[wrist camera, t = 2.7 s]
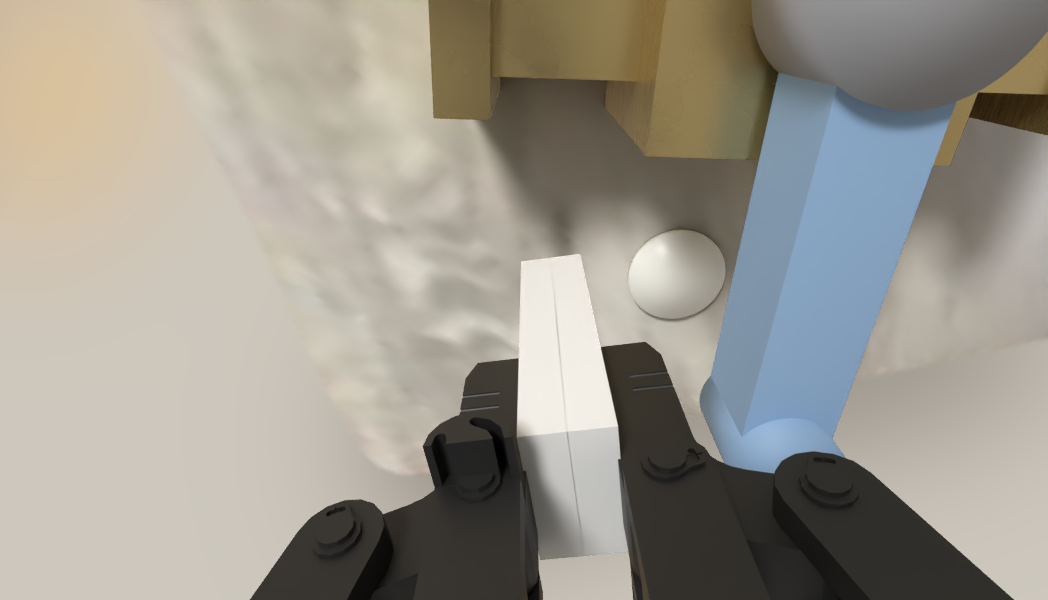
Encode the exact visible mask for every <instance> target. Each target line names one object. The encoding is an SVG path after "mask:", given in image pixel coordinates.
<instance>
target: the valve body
mask: <svg viewBox="0 0 1048 600" xmlns="http://www.w3.org/2000/svg"><path fill="white" fill-rule="evenodd" d="M429 22H430V45H431V68H432V91H433V114H434V118H442V119H473V120H490V118H491V115H492V112H493V110H494V107H495V104H496V101H497V99H498V96H499V93H500V90H501V77H519V78H550V79H581V80H607V86H606V97H605V108H606V109H607V110H608V111H609V113H610V114H611V115H612V116H613V117H614V119H615V120H616V121H617V122H618V123H619V125H620V126H621V127H622V128H623V129H624V131H625V132H626V133H627V134H628V136H629V137H630V138H631V139H632V140H633V142H634V143H635V144H636V145H637V146H638V148H639V149H640V150H641V151H642V152H643V154H644V155H645V156H646V157H675V158H707V159H739V160H759V158H760V154H761V149H762V145H763V140H764V136H765V131H766V127H767V122H768V118H769V113H770V109H771V105H772V100H773V96H774V91H775V87H776V82H777V78H778V73H779V72H778V71H776V70H775V69H774V68H773V67H772V65H771V64H770V63H769V62H768V60H767V59H766V57H765V56H764V54H763V52H762V50H761V49H760V46H759V44H758V41H757V38H756V35H755V31H754V27H753V20H752V0H429ZM968 117H971V118H975V119H979V120H984V121H988V122H992V123H996V124H1001V125H1005V126H1009V127H1014V128H1018V129H1022V130H1027V131H1031V132H1035V133H1039V134H1044V135H1048V31H1047V33H1046V34H1045V35H1044V36H1043V38H1042V39H1041V40H1040V41H1039V42H1038V43H1037V44H1036V46H1035V47H1034V48H1033V49H1032V50H1031V51H1030V52H1029V53H1028V54H1027V55H1026V56H1025V57H1024V58H1023V59H1022V60H1021V61H1020V62H1019V63H1018V64H1017V65H1016V66H1014V67H1013V68H1012V69H1011V70H1009V71H1008V72H1007V73H1006V74H1004V75H1003V76H1002V77H1001V78H999V79H998V80H996V81H995V82H993V83H992V84H990V85H989V86H987V87H986V88H984V89H982V90H980V91H978V92H976V93H974V94H972V95H971V96H969V97H966V98H964V99H961V100H959V101H957V102H956V105H955V108H954V110H953V113H952V116H951V118H950V121H949V124H948V126H947V129H946V132H945V135H944V137H943V140H942V143H941V145H940V148H939V151H938V154H937V156H936V159H935V162H934V164H933V166H950V164H951V162H952V159H953V156H954V154H955V151H956V149H957V146H958V143H959V141H960V138H961V136H962V133H963V130H964V128H965V125H966V123H967V120H968Z"/></svg>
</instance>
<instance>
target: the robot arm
mask: <svg viewBox="0 0 1048 600" xmlns="http://www.w3.org/2000/svg"><path fill="white" fill-rule="evenodd" d="M423 449H424V452H425V456H426V459H427V462H428V466H429V469H430V473H431V476H432V479H433V483H434V486H435V490H434V491H433V492H431V493H430V494H429V495H427V496H426V497H424V498H423V499H421V500H419V501H416V502H414V503H412V504H410V505H408V506H405V507H402V508H399V509H397V510H394V511H391V512H388V513H386V514H382V512H381V511H380V510H379V509H378V508H377V507H376V506H375V504H373V503H370V502H367V501H364V500H345V501H342V502H339V503H336V504H333V505H331V506H328V507H326V508H324V509H323V510H321V511H320V512H318V513H317V514H315V515H314V516H312V517H311V518H310V519H309V520H308V521H307V522H306V523H305V524H304V526H303V527H302V528H301V529H300V530H299V531H298V532H297V534H296V535H295V537H294V538H293V539H292V541H291V543H290V544H289V545H288V547H287V548H286V549H285V551H284V552H283V554H282V555H281V556H280V558H279V559H278V561H277V562H276V564H275V565H274V566H273V568H272V569H271V571H270V572H269V574H268V575H267V576H266V578H265V579H264V581H263V582H262V584H261V585H260V586H259V588H258V589H257V591H256V592H255V593H254V595H253V596H252V598H251V599H250V600H543V591H542V586H541V580H540V576H539V568H538V566H539V565H538V551H539V556H540V560H545V559H556V558H567V557H578V556H589V555H599V554H611V553H621V552H622V553H623V552H629V557H630V565H631V576H632V589H633V600H1014V599H1012V598H1011V597H1010V596H1009V595H1008V594H1007V593H1006V592H1005V591H1003V590H1002V589H1001V588H1000V587H999V586H998V585H996V583H994V582H993V581H992V580H991V579H990V578H989V577H987V575H985V574H984V573H983V572H982V571H981V570H980V569H979V568H978V567H976V566H975V565H974V564H973V563H972V562H971V561H970V560H968V559H967V558H966V557H965V556H964V555H963V554H962V553H961V552H960V551H958V550H957V549H956V548H955V547H954V546H953V545H952V544H951V543H949V542H948V541H947V540H946V539H945V538H944V537H943V536H941V535H940V534H939V533H938V532H937V531H936V530H935V529H934V528H932V527H931V526H930V525H929V524H928V523H927V522H926V521H925V520H923V519H922V518H921V517H920V516H919V515H918V514H917V513H916V512H915V511H913V510H912V509H911V508H910V507H909V506H908V505H907V504H905V503H904V502H903V501H902V500H901V499H900V498H899V497H898V496H897V495H895V494H894V493H893V492H892V491H891V490H890V489H889V488H887V487H886V486H885V485H884V484H883V483H882V482H881V481H880V480H878V479H877V478H876V477H875V476H874V475H873V474H872V473H870V472H869V471H867V470H866V469H865V468H863V467H861V466H860V465H859V464H857V463H855V462H854V461H852V460H848V459H846V458H843V457H841V456H838V455H835V454H831V453H823V452H815V451H811V452H804V453H796V454H794V455H792V456H790V457H788V458H786V459H784V460H782V461H781V463H780V464H779V466H778V467H777V469H776V470H775V473H767V472H760V471H753V470H746V469H742V468H737V467H733V466H729V465H727V464H724V463H722V462H719V461H717V460H716V459H714V458H712V457H711V456H710V455H709V453H708V452H707V450H706V449H705V448H704V447H703V446H701V445H700V444H698V443H697V442H696V441H695V439H694V437H693V435H692V433H691V430H690V427H689V425H688V422H687V420H686V417H685V415H684V412H683V410H682V407H681V404H680V402H679V399H678V397H677V394H676V392H675V389H674V387H673V385H672V381H671V379H670V376H669V374H668V373H667V369H666V366H665V364H664V361H663V358H662V356H661V354H660V353H659V352H657V351H656V350H655V349H654V348H652V347H651V346H650V345H649V344H647V343H646V342H640V343H632V344H623V345H615V346H606V347H600V342H599V337H598V333H597V328H596V324H595V319H594V315H593V310H592V305H591V301H590V296H589V292H588V287H587V283H586V278H585V273H584V269H583V264H582V260H581V255H580V254H575V255H568V256H560V257H552V258H544V259H536V260H529V261H521V294H520V332H519V358H517V359H509V360H500V361H492V362H483V363H478V364H477V365H476V366H475V367H474V369H473V370H472V371H471V372H470V374H469V375H468V376H467V378H466V380H465V386H464V392H463V398H462V403H461V412H460V415H459V416H455V417H453V418H451V419H449V420H447V421H445V422H443V423H441V424H440V425H438V426H437V427H436V428H435V429H434V430H433V431H432V432H431V433H430V434H429V435H428V437H427V439H426V441H425V443H424V445H423Z"/></svg>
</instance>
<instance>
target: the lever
mask: <svg viewBox="0 0 1048 600" xmlns="http://www.w3.org/2000/svg"><path fill="white" fill-rule="evenodd" d="M752 20H753V27H754V31H755V35H756V38H757V41H758V44H759V46H760V49H761V50H762V52H763V54H764V56H765V57H766V59H767V60H768V62H769V63H770V64H771V65H772V67H773V68H774V69H775V70H776V71H778V72H779V73H778V78H777V82H776V87H775V91H774V96H773V100H772V105H771V109H770V113H769V118H768V122H767V127H766V131H765V136H764V140H763V145H762V149H761V154H760V158H759V163H758V167H757V172H756V176H755V181H754V185H753V189H752V194H751V198H750V203H749V207H748V212H747V216H746V221H745V225H744V230H743V234H742V239H741V243H740V248H739V252H738V257H737V261H736V266H735V270H734V274H733V279H732V283H731V288H730V292H729V297H728V301H727V306H726V310H725V315H724V319H723V324H722V328H721V333H720V337H719V342H718V346H717V350H716V355H715V359H714V364H713V368H712V373H711V376H710V377H709V379H708V380H707V381H706V383H705V384H704V386H703V388H702V391H701V394H700V407H701V410H702V413H703V415H704V417H705V420H706V422H707V424H708V427H709V429H710V431H711V433H712V435H713V438H714V440H715V443H716V445H717V447H718V449H719V452H720V454H721V456H722V459H723V461H724V463H725V464H727V465H729V466H733V467H737V468H742V469H746V470H753V471H760V472H767V473H775V470H776V469H777V467H778V466H779V464H780V463H781V461H782V460H784V459H786V458H788V457H790V456H792V455H794V454H796V453H804V452H811V451H815V452H823V453H831V454H835V455H838V456H841V457H843V458H845V456H844V455H843V453H842V452H841V451H840V449H839V448H838V446H837V445H836V444H835V442H834V441H833V439H832V438H833V435H834V432H835V430H836V427H837V424H838V422H839V419H840V416H841V414H842V411H843V408H844V406H845V403H846V400H847V397H848V395H849V392H850V389H851V386H852V384H853V381H854V378H855V376H856V373H857V370H858V368H859V365H860V362H861V359H862V357H863V354H864V351H865V349H866V346H867V343H868V341H869V338H870V335H871V332H872V330H873V327H874V324H875V322H876V319H877V316H878V313H879V311H880V308H881V305H882V303H883V300H884V297H885V294H886V292H887V289H888V286H889V284H890V281H891V278H892V275H893V273H894V270H895V267H896V265H897V262H898V259H899V257H900V254H901V251H902V248H903V246H904V243H905V240H906V238H907V235H908V232H909V229H910V227H911V224H912V221H913V219H914V216H915V213H916V210H917V208H918V205H919V202H920V200H921V197H922V194H923V191H924V189H925V186H926V183H927V181H928V178H929V175H930V173H931V170H932V167H933V164H934V162H935V159H936V156H937V154H938V151H939V148H940V145H941V143H942V140H943V137H944V135H945V132H946V129H947V126H948V124H949V121H950V118H951V116H952V113H953V110H954V108H955V105H956V102H957V101H959V100H961V99H964V98H966V97H969V96H971V95H972V94H974V93H976V92H978V91H980V90H982V89H984V88H986V87H987V86H989V85H990V84H992V83H993V82H995V81H996V80H998V79H999V78H1001V77H1002V76H1003V75H1004V74H1006V73H1007V72H1008V71H1009V70H1011V69H1012V68H1013V67H1014V66H1016V65H1017V64H1018V63H1019V62H1020V61H1021V60H1022V59H1023V58H1024V57H1025V56H1026V55H1027V54H1028V53H1029V52H1030V51H1031V50H1032V49H1033V48H1034V47H1035V46H1036V44H1037V43H1038V42H1039V41H1040V40H1041V39H1042V38H1043V36H1044V35H1045V34H1046V33H1047V31H1048V0H752Z"/></svg>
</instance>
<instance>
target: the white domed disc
mask: <svg viewBox="0 0 1048 600" xmlns="http://www.w3.org/2000/svg"><path fill="white" fill-rule="evenodd" d="M725 273H726V267H725V261H724V258H723V255H722V253H721V251H720V250H719V248H718V247H717V246H716V244H715V243H714V242H713V241H712V240H711V239H709V238H708V237H707V236H705V235H703V234H701V233H698V232H696V231H691V230H683V229H682V230H671V231H667V232H664V233H661V234H659V235H657V236H655V237H653V238H651V239H650V240H648V241H647V242H646V243H645V244H644V245H643V246H641V248H640V249H639V250H638V251H637V253H636V254H635V255H634V257H633V259H632V261H631V264H630V267H629V271H628V285H629V289H630V292H631V294H632V297H633V298H634V300H635V302H636V303H637V304H638V305H639V306H640V307H641V308H642V309H643V310H644V311H646V312H647V313H649V314H651V315H653V316H656V317H660V318H666V319H677V318H683V317H687V316H690V315H693V314H695V313H697V312H699V311H701V310H702V309H704V308H705V307H706V306H708V305H709V304H710V303H711V302H712V301H713V300H714V299H715V297H716V296H717V295H718V293H719V292H720V290H721V288H722V286H723V283H724V279H725Z"/></svg>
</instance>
